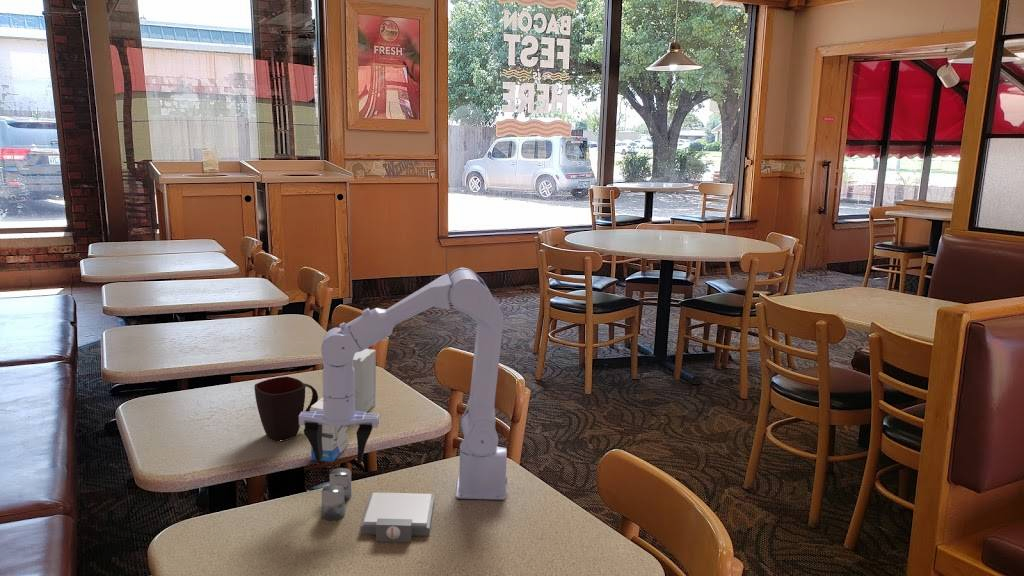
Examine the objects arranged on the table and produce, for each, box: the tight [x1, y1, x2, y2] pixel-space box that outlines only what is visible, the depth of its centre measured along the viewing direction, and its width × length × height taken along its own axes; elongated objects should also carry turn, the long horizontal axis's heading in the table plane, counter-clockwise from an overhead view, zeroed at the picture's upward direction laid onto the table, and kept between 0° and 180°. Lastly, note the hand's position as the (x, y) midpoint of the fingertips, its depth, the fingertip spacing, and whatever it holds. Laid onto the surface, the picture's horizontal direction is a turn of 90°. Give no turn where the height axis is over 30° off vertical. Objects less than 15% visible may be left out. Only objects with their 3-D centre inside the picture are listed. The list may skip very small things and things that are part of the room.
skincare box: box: [353, 348, 377, 413], centre depth 179 cm, size 8×6×15 cm
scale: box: [360, 491, 435, 543], centre depth 133 cm, size 12×13×3 cm
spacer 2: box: [321, 484, 346, 522], centre depth 134 cm, size 4×4×5 cm
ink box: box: [310, 397, 349, 463], centre depth 157 cm, size 9×5×12 cm, turn 168°
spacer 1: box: [329, 467, 352, 503], centre depth 140 cm, size 4×4×5 cm
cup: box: [253, 376, 319, 442], centre depth 165 cm, size 10×14×12 cm
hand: (339, 460), depth 139 cm, fingers open, 7 cm apart
